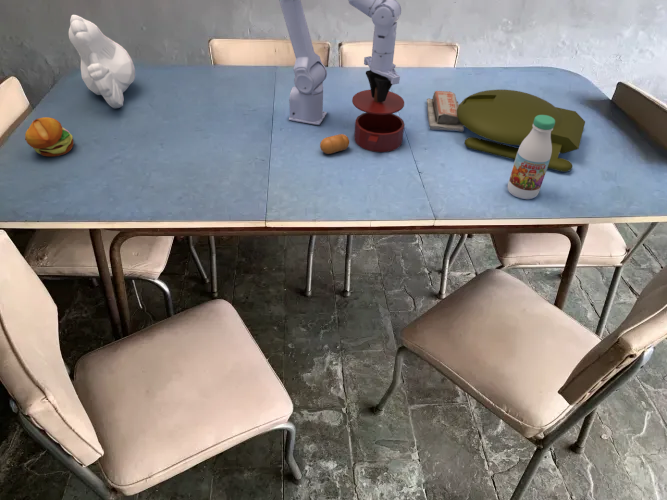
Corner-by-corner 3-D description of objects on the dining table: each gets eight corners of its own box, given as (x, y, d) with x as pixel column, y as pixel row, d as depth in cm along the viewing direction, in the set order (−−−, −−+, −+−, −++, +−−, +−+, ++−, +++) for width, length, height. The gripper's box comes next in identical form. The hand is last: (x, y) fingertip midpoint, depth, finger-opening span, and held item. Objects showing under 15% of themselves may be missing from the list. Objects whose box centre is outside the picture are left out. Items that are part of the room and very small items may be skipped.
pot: (346, 152, 149) (347, 134, 145) (363, 120, 163) (364, 103, 159) (395, 160, 146) (397, 142, 143) (407, 128, 160) (409, 111, 157)
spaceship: (582, 126, 165) (593, 95, 158) (569, 176, 144) (582, 143, 137) (468, 100, 175) (474, 71, 169) (440, 143, 154) (446, 111, 148)
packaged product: (428, 88, 170) (460, 90, 170) (425, 102, 173) (457, 104, 173) (431, 115, 156) (466, 117, 156) (429, 130, 160) (463, 132, 159)
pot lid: (346, 111, 148) (347, 95, 145) (359, 89, 159) (360, 74, 155) (398, 120, 145) (400, 104, 142) (408, 97, 156) (410, 81, 153)
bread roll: (324, 158, 146) (325, 143, 143) (317, 150, 149) (317, 136, 146) (351, 151, 149) (352, 137, 146) (343, 143, 152) (344, 129, 149)
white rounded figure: (89, 56, 175) (43, 8, 150) (137, 47, 174) (99, -2, 150) (95, 129, 170) (49, 92, 146) (145, 119, 170) (107, 81, 145)
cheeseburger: (85, 142, 148) (70, 113, 140) (62, 169, 142) (44, 141, 134) (54, 134, 150) (37, 105, 142) (30, 161, 144) (10, 132, 136)
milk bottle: (502, 182, 140) (523, 110, 127) (531, 182, 141) (555, 110, 128) (512, 200, 134) (535, 127, 121) (542, 199, 135) (568, 126, 122)
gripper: (411, 57, 139) (405, 107, 148) (381, 38, 148) (376, 86, 157) (388, 62, 136) (383, 112, 145) (358, 42, 145) (355, 90, 154)
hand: (378, 99), depth 151 cm, fingers closed on pot lid, 2 cm apart
